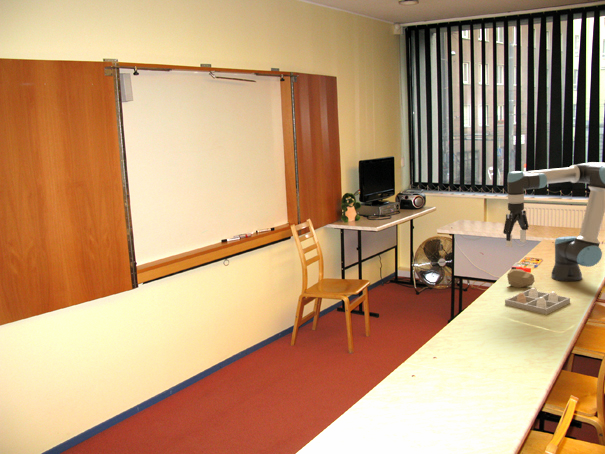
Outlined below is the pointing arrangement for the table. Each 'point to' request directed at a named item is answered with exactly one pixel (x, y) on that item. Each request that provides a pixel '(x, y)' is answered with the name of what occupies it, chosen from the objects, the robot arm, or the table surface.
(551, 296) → the white egg
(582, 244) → the robot arm
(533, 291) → the white egg
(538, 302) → the white egg
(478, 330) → the table surface
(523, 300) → the brown egg
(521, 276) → the low-poly potato
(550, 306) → the carton
